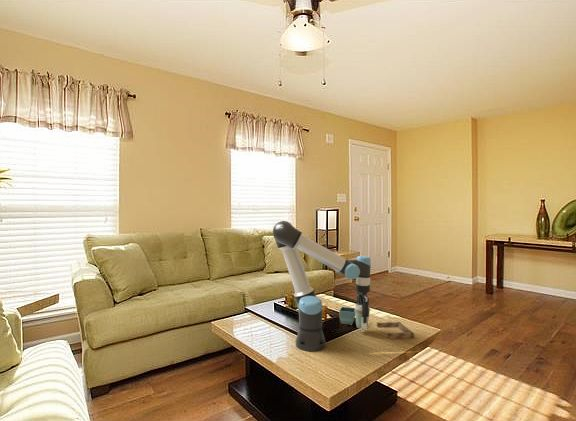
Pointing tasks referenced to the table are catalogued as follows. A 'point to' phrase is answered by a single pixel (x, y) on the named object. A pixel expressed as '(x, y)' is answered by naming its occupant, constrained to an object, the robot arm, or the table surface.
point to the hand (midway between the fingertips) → (361, 325)
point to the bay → (405, 334)
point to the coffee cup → (359, 316)
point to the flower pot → (347, 315)
